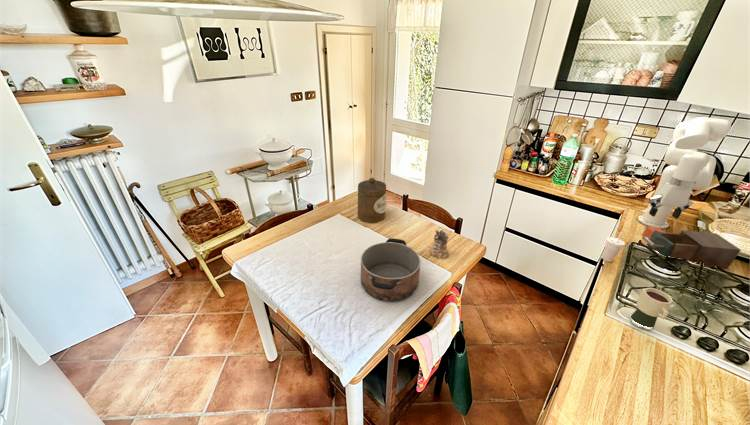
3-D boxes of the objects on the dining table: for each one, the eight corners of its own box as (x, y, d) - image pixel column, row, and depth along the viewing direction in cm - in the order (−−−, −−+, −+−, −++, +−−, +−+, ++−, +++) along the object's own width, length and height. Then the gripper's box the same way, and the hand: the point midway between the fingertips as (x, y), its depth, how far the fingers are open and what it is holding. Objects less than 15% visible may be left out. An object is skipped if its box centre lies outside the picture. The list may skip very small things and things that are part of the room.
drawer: (649, 258, 133) (658, 243, 130) (634, 243, 143) (642, 229, 140) (695, 262, 131) (705, 247, 127) (676, 247, 141) (685, 233, 137)
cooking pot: (412, 315, 104) (415, 291, 99) (350, 303, 108) (349, 280, 103) (421, 262, 130) (424, 241, 124) (371, 254, 134) (371, 233, 129)
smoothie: (618, 264, 130) (632, 237, 124) (602, 262, 131) (615, 235, 125) (611, 255, 136) (624, 229, 129) (596, 254, 137) (608, 227, 130)
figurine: (447, 259, 132) (450, 236, 126) (430, 257, 133) (433, 234, 127) (446, 250, 138) (450, 227, 132) (431, 248, 139) (433, 225, 133)
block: (642, 234, 152) (646, 226, 149) (653, 235, 151) (658, 227, 149) (648, 240, 147) (653, 231, 145) (660, 241, 147) (664, 232, 144)
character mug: (663, 338, 97) (684, 309, 91) (640, 336, 98) (659, 307, 91) (640, 312, 107) (657, 284, 101) (619, 310, 107) (635, 282, 101)
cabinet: (690, 264, 131) (702, 246, 126) (670, 247, 142) (681, 230, 137) (727, 268, 129) (741, 249, 124) (704, 251, 140) (716, 233, 135)
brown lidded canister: (382, 224, 156) (383, 185, 146) (354, 221, 159) (353, 182, 149) (387, 211, 169) (389, 174, 158) (362, 208, 172) (361, 171, 161)
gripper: (696, 181, 137) (678, 214, 145) (654, 177, 139) (638, 210, 147) (710, 187, 130) (689, 222, 139) (664, 183, 133) (647, 218, 141)
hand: (663, 216), depth 143 cm, fingers open, 9 cm apart
